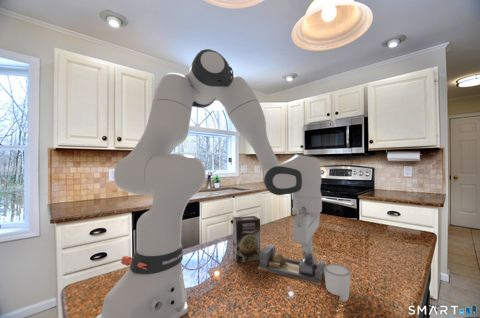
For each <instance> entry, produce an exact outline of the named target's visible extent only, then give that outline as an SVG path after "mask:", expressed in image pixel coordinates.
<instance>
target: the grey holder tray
mask: <svg viewBox="0 0 480 318" xmlns="http://www.w3.org/2000/svg"><path fill="white" fill-rule="evenodd" d="M274 254H276V245H274V244H269V243H268V244H267V245H266V246H265V247H264V248H262V250H260V260H259V266H257V268H256V269H257V270H259V271H265V272H268V273H271V274H275V275H280V276H283V277H287V278H291V279H295V280H299V281H301V282H302V281H303V282H307V283H310V284H314V285H317V286H320V285H321V283H322V280H323V278H324V276H325V274H324V266H326V261H324V260H319V262H318V263H317V268H316V270H315V274H314V276H313V277H311V276H307V275H302V274H299V263H300V262H301V260H298V259H295V258H294V259H293V258H290V257H286V256H283V258H284V263H283V264H282V265H281V266H280V263H276V262H272V257H273V255H274Z"/></svg>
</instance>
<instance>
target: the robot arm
mask: <svg viewBox="0 0 480 318" xmlns="http://www.w3.org/2000/svg"><path fill="white" fill-rule="evenodd" d="M216 100H217V101H218V102H219V103H221V104H222V106H223V107H224V109H225V112H226V114H227V116H228V118H229V120H230V122H231V123H232V125H233V127H234V128H235V130H236V131H237V132H238V134H239V135H240V136H241V137H242V138H244V140H245V141H246V142H247V143H248V144H249V145H250V147H251V148H252V150H253V152H254V153H255V156H256V157H257V159H258V162H259V164H260V166H261V168H262V173H263V174H262V177H263V180H262V181H263V183H264V185H265V188H266V190H267V191H268V192H269V193H271V194H273V195H276V196H284V195H289V194H290V195H291V194H292V210H293V211H294V212H296V214H295V216H294V218H293V225H292V226H293V232H292V239H293V242H294V243H297V244H301V245H302V252H303V251H304V252H308V251H309V239H310V237H311V236H313V237H314V236H315V235H314V233H315V232H316V231H317V229H318V228H319V226H320V218H321V217H320V216H321V212H323V211H322V210H323V202H322V200H323V199H322V198H323V197H322V192H321V186H322V185H321V184H322V169H321V163H320V160H319V159H318V158H317V157H315V156H313V155H309V154H302V153H300V154H299V153H298V154H294V156H292V157H291V158H289V159H288V160H287V159H286V160H285V161H283V162H280V161H279V160H278V158H277V155H276V154H275V152H274V150H273V148H272V146H271V144H270V142H269V139H268V135H267V134H268V133H267V123H266V117H265V113H264V110H263V108H262V105H261V103H260V102H259V99H258V98H257V96H256V94H255V92H254V90H253V89H252V88H251V86H250V85H249V83H248V82H247V81H246V80H245V79H244V77H242V76H239V75H234V70H233V68H232V67H231V66H230V65H229V62H228V60H226V58H225V57H224V56H223V55H222V54H221V53H219V51H216V50H214V49H211V48H208V49H206V48H205V49H202V50H200V51H199V52H198V53H197V54H196V55H195V57H194V58H193V59H192V62H191V66H190V69H189V72H188V74H181V73H178V72H169V73H167V74H164V76H162V77H161V79H160V81H159V83H158V85H157V87H156V90H155V92H154V96H153V99H152V103H151V109H150V111H149V116H148V119H147V124H146V127H145V129H144V131H143V134H142V135H141V137H140V139H139V141H138V142H137V144H136V145H135V146H134V148H133V149H132V150H131V151H130V153H128V154H127V155H126V156H125V157H123V158H122V159H121V160H119V161H118V162H117V164H116V165H115V168H114V172H113V177H114V182H115V184H116V186H117V187H118V188H119V190H122V191H125V192H127V193H131V194H134V195H145V196H153V198H152V204H151V207H150V209H148V210H147V211H145V212H144V213H142V214H141V215H140V217H139V218H138V220H137V221H136V249H135V250H134V254H133V256H132V257H131V256H128V255H123V256H122V257H121V259H120V264H121V265H122V266H123V265H124V266H127V267H128V266H129V268H128V270H127V271H126V272H125V273H124V275H123V276H122V277H121V278H120V279H119V280H118V282H117V283H116V284H115V285H114V286H113V287H112V288H111V289H110V290H109V291H108V292H107V294H106V295H105V298H104V300H103V304H102V308H101V313H100V314H98V315H97V316H95V318H181V317H182V316H184V315H185V314H187V313H188V310H189V309H188V307H189V306H188V304H187V301H188V294H187V289H186V287H185V279H184V272H183V265H182V261H183V259H184V256H183V255H184V250H183V244H182V225H183V224H182V223H183V222H182V221H183V215H184V212H185V209H186V207H187V206H188V203H189V202H190V201H191V199H192V198H193V197H194V196H195V195H197V194H198V193H199V192H200V190H201V189H202V188H203V186H204V184H205V180H206V169H205V166H204V164H203V162H202V160H201V159H200V158H199V157H196V156H193V155H189V154H183V153H172V152H173V151H174V150H175V149H176V148H177V147H178V146H179V145H181V144H183V143H184V142H185V141H186V139H187V137H188V136H189V129H190V122H191V117H192V110H193V108H198V109H201V108H202V109H203V108H208V107H210V106H211V105H212V104H213V103H214V102H215V101H216Z"/></svg>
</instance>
